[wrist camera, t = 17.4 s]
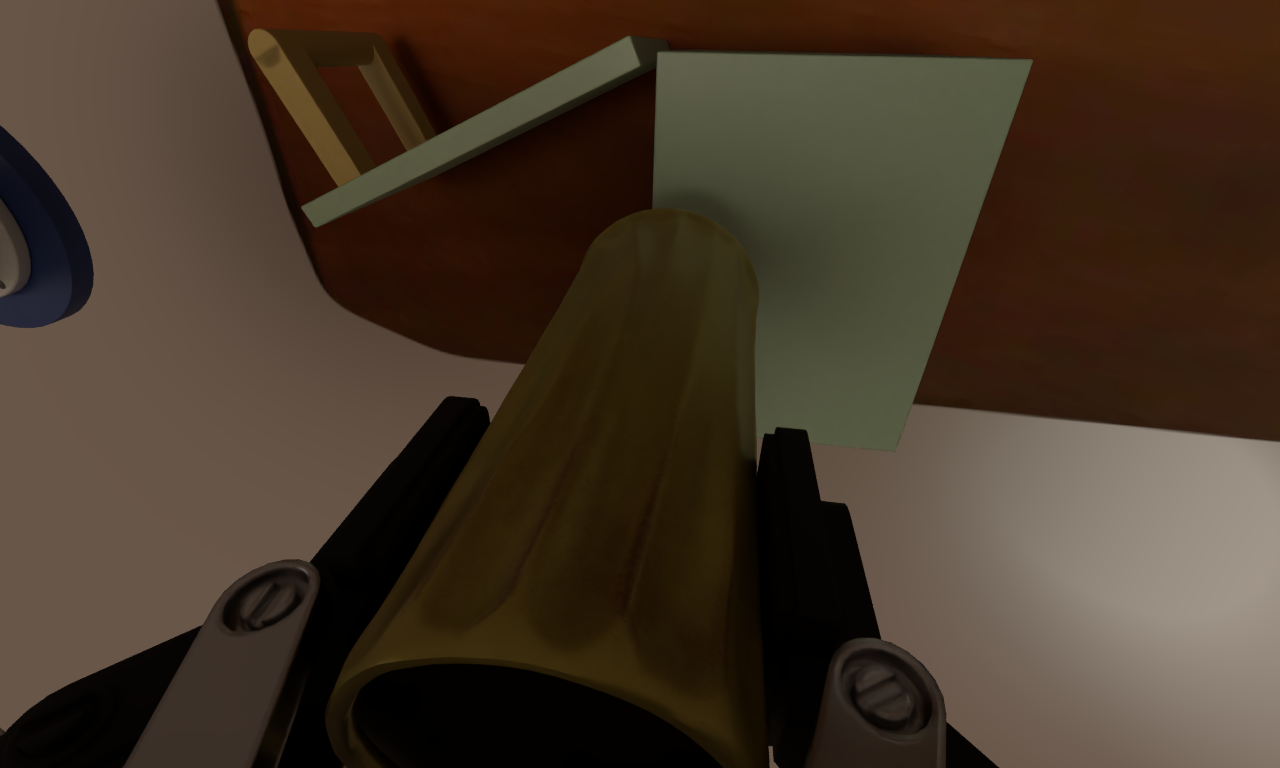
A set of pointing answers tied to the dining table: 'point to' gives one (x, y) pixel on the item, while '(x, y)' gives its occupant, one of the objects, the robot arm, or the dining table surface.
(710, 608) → the vase
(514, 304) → the dining table surface
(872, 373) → the cupboard
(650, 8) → the dining table surface
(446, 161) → the cupboard door
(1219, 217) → the dining table surface
